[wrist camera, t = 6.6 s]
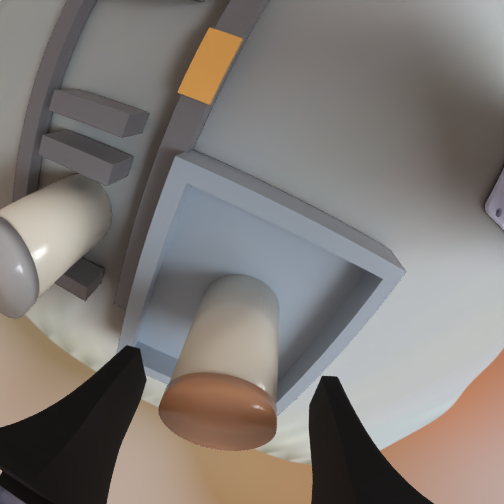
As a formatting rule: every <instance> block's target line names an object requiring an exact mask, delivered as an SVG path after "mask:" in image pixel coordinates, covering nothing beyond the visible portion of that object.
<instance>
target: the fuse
mask: <svg viewBox="0 0 504 504" xmlns="http://www.w3.org/2000/svg"><path fill="white" fill-rule="evenodd" d="M111 221H112V211H111V205H110V201H109V199H108V196H107V194H106V192H105V191H104V189H103V188H102V187H101V185H100V184H99V183H98V182H97V181H95V180H92V179H90V178H88V177H86V176H84V175H82V174H74V175H71V176H69V177H66V178H64V179H62V180H59V181H57V182H55V183H53V184H50V185H48V186H46V187H44V188H42V189H40V190H37V191H35V192H33V193H31V194H29V195H27V196H25V197H23V198H21V199H19V200H17V201H15V202H13V203H11V204H10V205H8V206H6V207H4V208H2V209H0V313H2V314H3V315H5V316H7V317H9V318H13V319H17V318H21V317H22V316H23V315H24V314H25V313H26V312H27V311H28V310H29V309H30V308H31V307H32V306H33V305H34V304H35V303H36V301H37V299H38V298H39V297H40V296H41V295H42V294H43V293H44V292H45V291H46V290H47V289H48V288H49V287H50V286H51V285H52V284H53V283H54V282H55V281H56V280H58V279H59V278H60V277H61V276H62V275H63V274H64V273H65V272H66V271H67V270H68V269H69V268H70V267H71V266H72V265H74V264H75V263H76V262H77V261H78V260H79V259H80V258H81V257H82V256H83V255H85V254H86V253H87V252H88V251H89V250H90V249H91V248H92V247H94V246H95V245H96V244H97V243H98V242H99V241H101V240H102V239H103V238H104V237H105V236H106V234H107V233H108V231H109V229H110V226H111Z"/></svg>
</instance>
